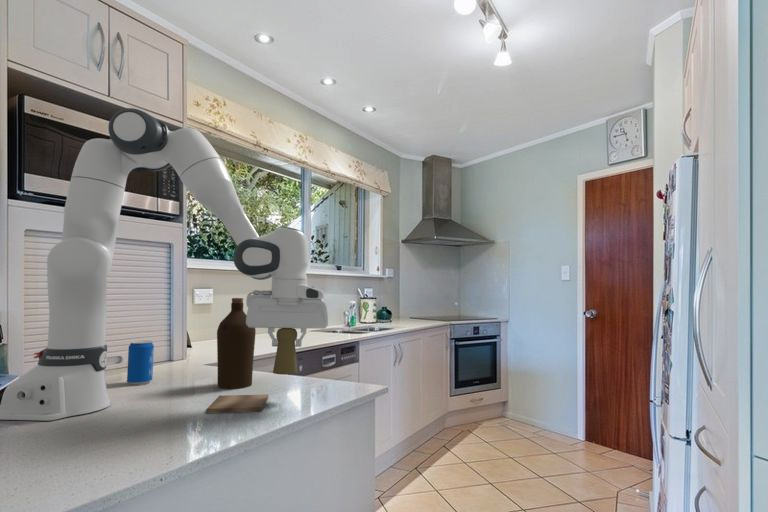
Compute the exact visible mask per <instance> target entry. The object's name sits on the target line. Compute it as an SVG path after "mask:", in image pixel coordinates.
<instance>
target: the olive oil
mask: <svg viewBox="0 0 768 512" xmlns="http://www.w3.org/2000/svg"><path fill="white" fill-rule="evenodd" d="M246 317H247V313H246V312H245V311H244V298H243V297H232V298H231V303H230V312H229V313H228V314H227V315H226V316H225V317H224V318H223V319H222V320H221V322H220V323H219V324H218V327H217V331H216V348H217V350H216V352H217V354H216V356H217V357H216V359H217V387H218V388H220V389H225V390H226V389H227V390H228V389H230V390H233V389H235V390H237V389H243V388H247V387H250V386H252V384H253V374H254V373H253V369H254V355H255V344H256V333H257V332H256V328H249V327H248V326H247V325H246Z"/></svg>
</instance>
